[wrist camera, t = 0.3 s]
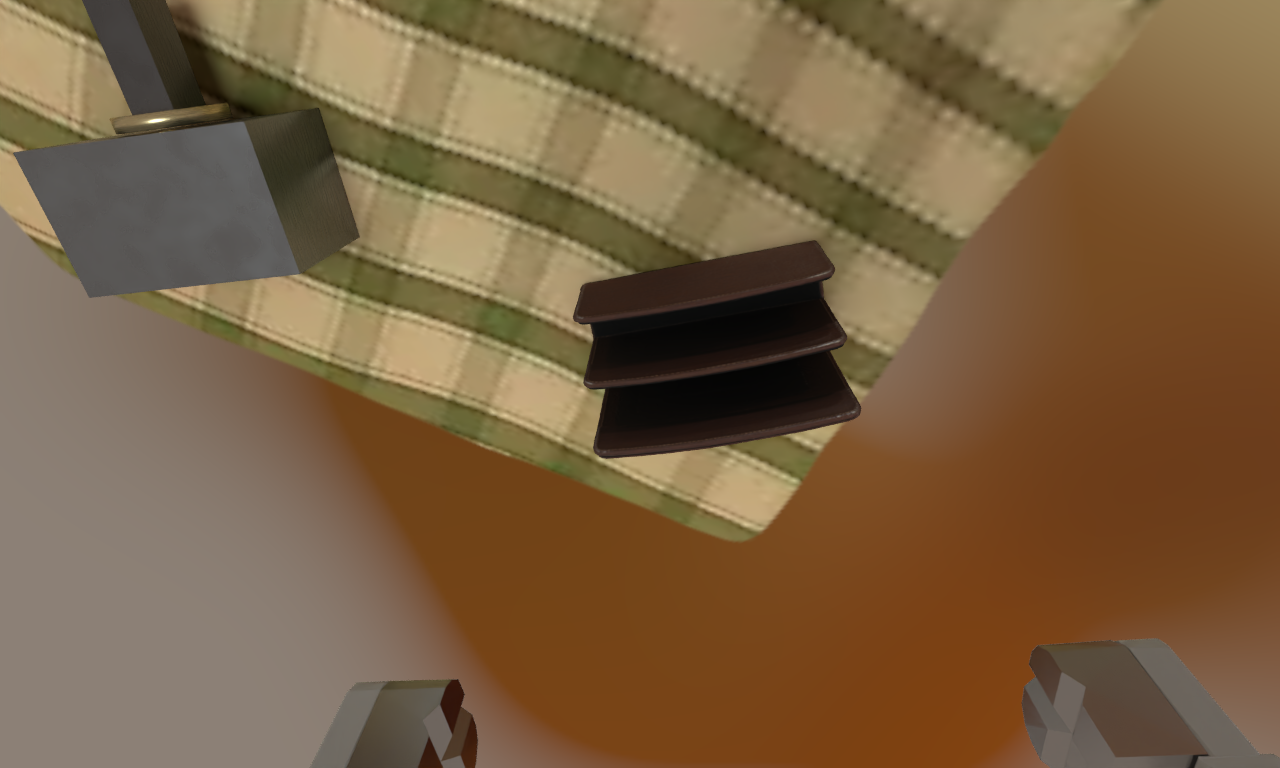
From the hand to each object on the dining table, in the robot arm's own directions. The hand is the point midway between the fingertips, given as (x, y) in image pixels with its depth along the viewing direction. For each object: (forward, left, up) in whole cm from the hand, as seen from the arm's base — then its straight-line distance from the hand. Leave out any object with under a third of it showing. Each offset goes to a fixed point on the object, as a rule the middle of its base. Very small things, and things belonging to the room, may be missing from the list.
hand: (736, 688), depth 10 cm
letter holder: (+13, +1, -47) cm, 49 cm away
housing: (-2, -35, -47) cm, 59 cm away
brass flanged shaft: (-8, -35, -46) cm, 58 cm away
